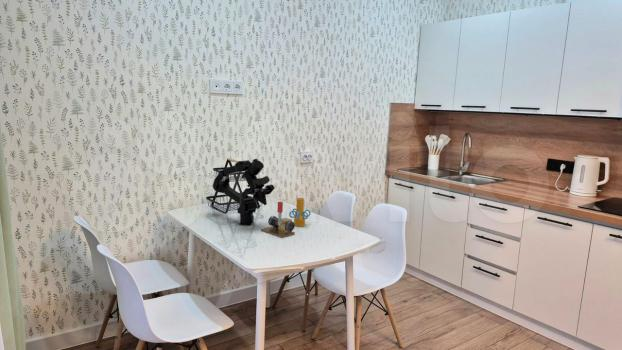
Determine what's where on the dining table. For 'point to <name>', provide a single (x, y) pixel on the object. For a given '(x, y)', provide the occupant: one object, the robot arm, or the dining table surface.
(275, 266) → the dining table surface
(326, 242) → the dining table surface
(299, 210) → the orange post with rings
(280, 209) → the lever
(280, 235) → the valve
